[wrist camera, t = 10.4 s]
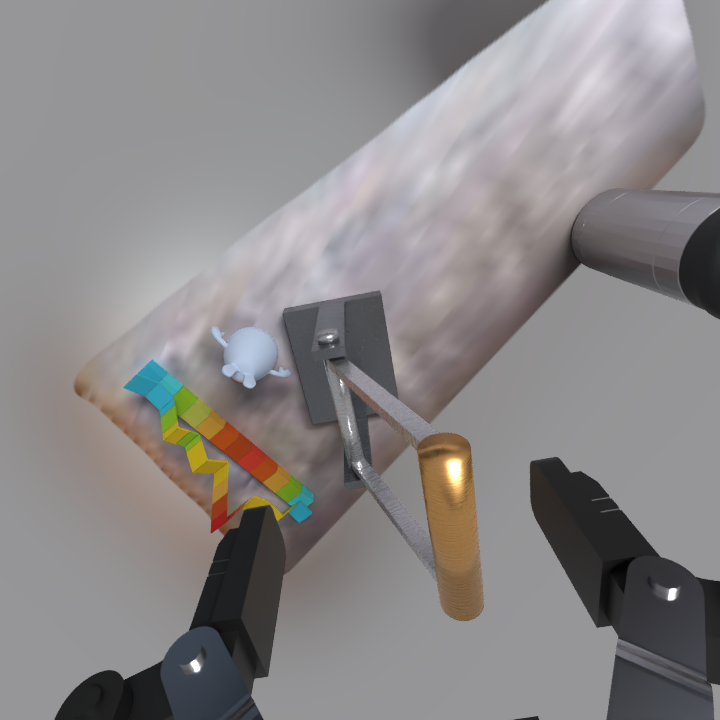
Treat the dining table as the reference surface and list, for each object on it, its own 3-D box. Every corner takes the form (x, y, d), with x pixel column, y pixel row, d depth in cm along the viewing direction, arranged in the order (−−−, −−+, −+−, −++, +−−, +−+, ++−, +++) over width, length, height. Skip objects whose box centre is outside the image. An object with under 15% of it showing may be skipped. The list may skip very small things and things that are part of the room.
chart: (137, 373, 55) (68, 439, 41) (153, 358, 54) (87, 420, 40) (299, 504, 64) (287, 592, 51) (313, 493, 64) (305, 579, 50)
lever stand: (378, 284, 51) (393, 327, 36) (399, 406, 58) (418, 484, 43) (283, 302, 51) (259, 352, 36) (315, 421, 58) (305, 503, 44)
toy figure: (209, 335, 52) (174, 377, 41) (233, 296, 51) (203, 329, 40) (281, 378, 55) (266, 428, 44) (306, 342, 53) (297, 385, 42)
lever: (342, 347, 40) (482, 451, 23) (365, 454, 45) (493, 606, 28) (314, 357, 39) (436, 473, 22) (341, 465, 44) (457, 629, 27)
